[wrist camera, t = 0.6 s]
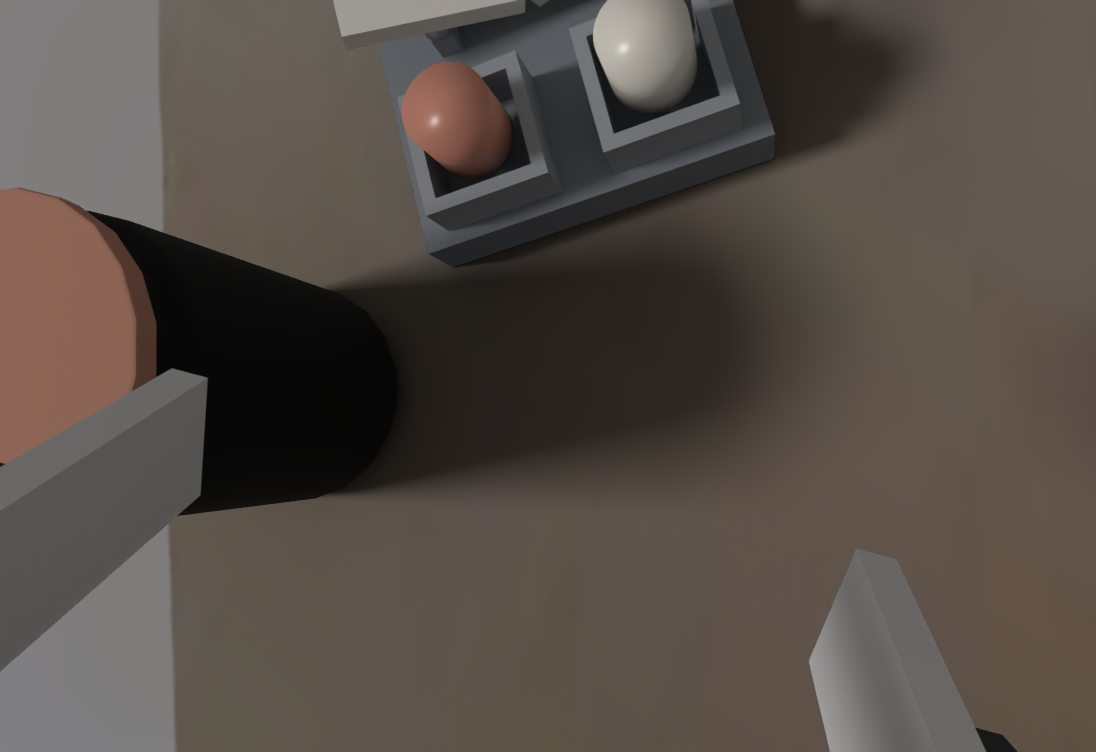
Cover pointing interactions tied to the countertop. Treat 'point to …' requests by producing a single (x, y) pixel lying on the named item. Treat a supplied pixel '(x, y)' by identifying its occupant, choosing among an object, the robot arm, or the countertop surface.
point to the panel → (576, 126)
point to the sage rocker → (539, 2)
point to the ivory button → (647, 52)
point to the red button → (458, 120)
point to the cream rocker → (414, 17)
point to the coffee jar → (186, 350)
